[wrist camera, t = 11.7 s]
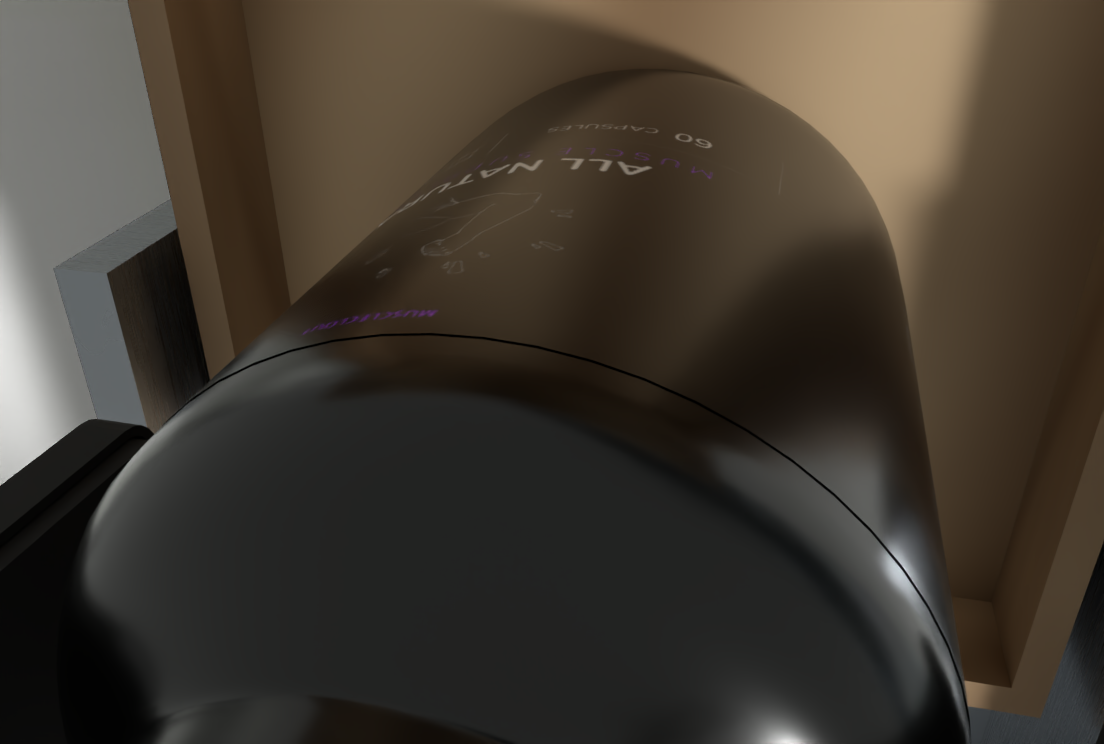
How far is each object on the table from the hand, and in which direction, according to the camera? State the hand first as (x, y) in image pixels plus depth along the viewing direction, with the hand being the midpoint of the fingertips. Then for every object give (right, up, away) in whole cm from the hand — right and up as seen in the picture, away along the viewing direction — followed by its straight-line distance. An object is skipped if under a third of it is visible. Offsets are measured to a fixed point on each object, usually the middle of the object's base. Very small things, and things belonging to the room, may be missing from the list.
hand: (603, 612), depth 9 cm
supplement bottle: (+1, +4, +5) cm, 6 cm away
